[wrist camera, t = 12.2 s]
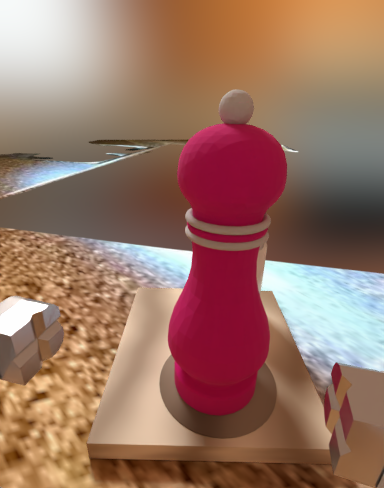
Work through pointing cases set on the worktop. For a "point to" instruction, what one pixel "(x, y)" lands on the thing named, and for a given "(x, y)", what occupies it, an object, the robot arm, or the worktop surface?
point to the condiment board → (197, 423)
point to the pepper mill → (225, 259)
